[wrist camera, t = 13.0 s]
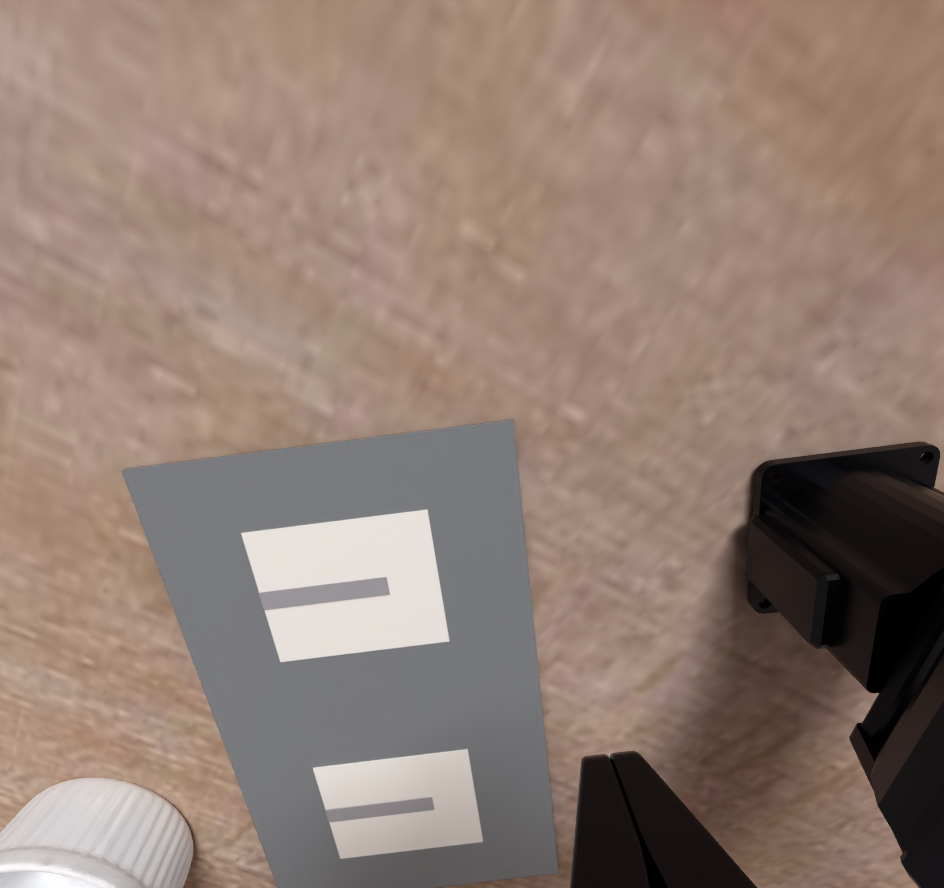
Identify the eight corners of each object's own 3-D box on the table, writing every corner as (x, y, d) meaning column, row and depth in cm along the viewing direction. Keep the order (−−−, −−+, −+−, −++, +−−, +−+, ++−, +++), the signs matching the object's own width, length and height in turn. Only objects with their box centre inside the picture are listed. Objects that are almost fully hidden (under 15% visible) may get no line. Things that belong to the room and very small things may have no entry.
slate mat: (512, 419, 18) (513, 421, 18) (557, 868, 26) (559, 875, 26) (125, 468, 19) (119, 472, 18) (285, 900, 26) (284, 907, 26)
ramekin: (-28, 822, 24) (-126, 935, 20) (103, 732, 23) (25, 835, 19) (120, 918, 27) (59, 1036, 23) (246, 842, 25) (206, 954, 21)
